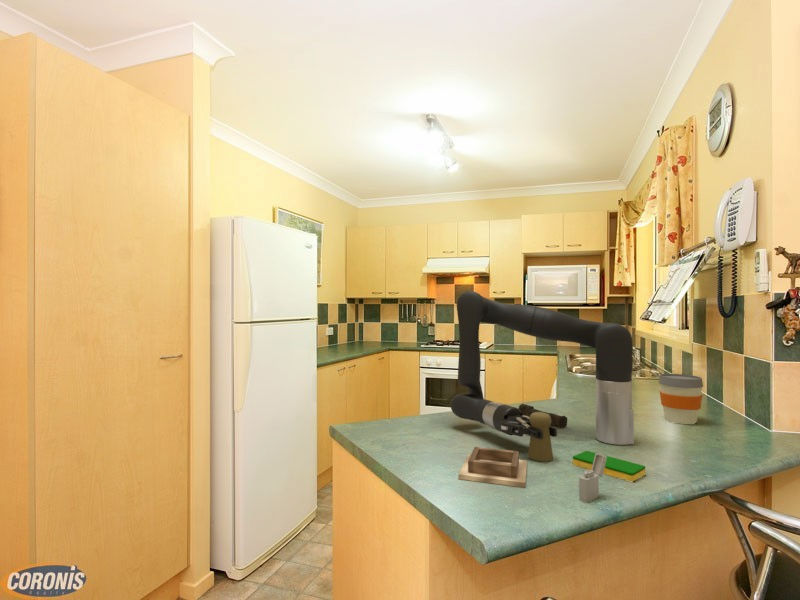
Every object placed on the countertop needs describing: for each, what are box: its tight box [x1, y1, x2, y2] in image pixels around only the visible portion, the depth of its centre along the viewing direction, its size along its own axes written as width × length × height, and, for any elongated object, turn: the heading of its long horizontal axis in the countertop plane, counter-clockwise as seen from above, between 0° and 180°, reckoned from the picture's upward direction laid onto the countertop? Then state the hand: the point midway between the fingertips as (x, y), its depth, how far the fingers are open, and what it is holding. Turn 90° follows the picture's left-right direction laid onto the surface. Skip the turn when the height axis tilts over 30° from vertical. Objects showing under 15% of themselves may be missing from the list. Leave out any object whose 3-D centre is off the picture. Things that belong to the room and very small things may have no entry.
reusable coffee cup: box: [658, 373, 704, 425], centre depth 144 cm, size 13×13×15 cm
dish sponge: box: [572, 450, 646, 482], centre depth 100 cm, size 7×14×2 cm, turn 39°
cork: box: [527, 411, 554, 462], centre depth 107 cm, size 6×6×11 cm
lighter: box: [578, 452, 607, 503], centre depth 85 cm, size 7×2×8 cm, turn 124°
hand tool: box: [517, 403, 568, 429], centre depth 143 cm, size 19×4×5 cm, turn 30°
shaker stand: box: [458, 446, 528, 488], centre depth 98 cm, size 14×14×4 cm
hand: (548, 433), depth 105 cm, fingers closed on cork, 4 cm apart
